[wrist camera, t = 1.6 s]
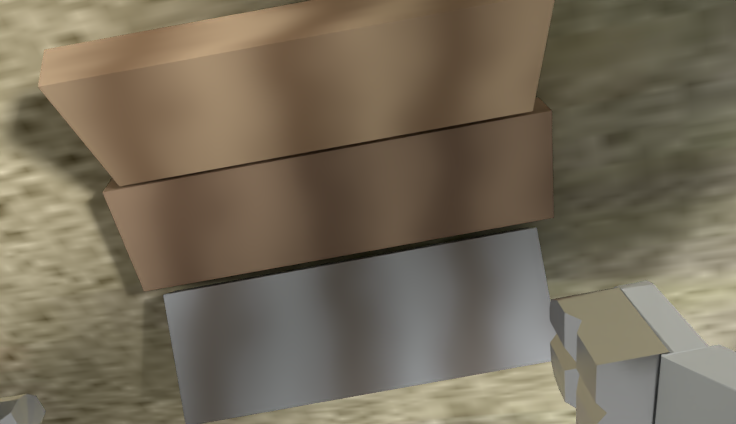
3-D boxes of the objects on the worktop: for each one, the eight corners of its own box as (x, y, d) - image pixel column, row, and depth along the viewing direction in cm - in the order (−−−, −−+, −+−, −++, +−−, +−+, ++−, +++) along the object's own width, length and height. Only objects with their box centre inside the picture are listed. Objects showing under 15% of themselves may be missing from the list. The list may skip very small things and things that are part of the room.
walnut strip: (538, 97, 32) (551, 110, 30) (541, 200, 34) (553, 217, 33) (113, 174, 32) (102, 192, 30) (152, 270, 35) (144, 291, 33)
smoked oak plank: (541, -42, 24) (556, -9, 23) (521, 80, 30) (532, 110, 29) (44, 49, 25) (37, 86, 24) (121, 153, 31) (119, 186, 30)
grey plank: (527, 227, 35) (536, 227, 33) (550, 351, 34) (561, 359, 32) (175, 290, 35) (163, 294, 33) (196, 414, 35) (186, 426, 33)
